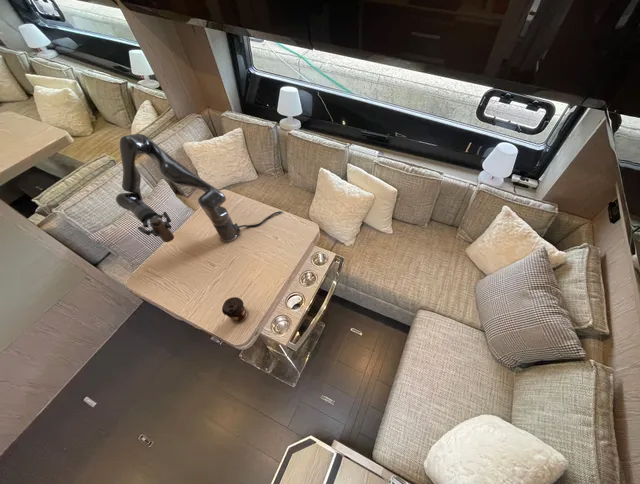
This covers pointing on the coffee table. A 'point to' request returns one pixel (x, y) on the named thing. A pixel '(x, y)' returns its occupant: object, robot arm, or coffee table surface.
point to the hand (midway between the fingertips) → (163, 231)
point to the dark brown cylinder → (234, 309)
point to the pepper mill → (161, 229)
